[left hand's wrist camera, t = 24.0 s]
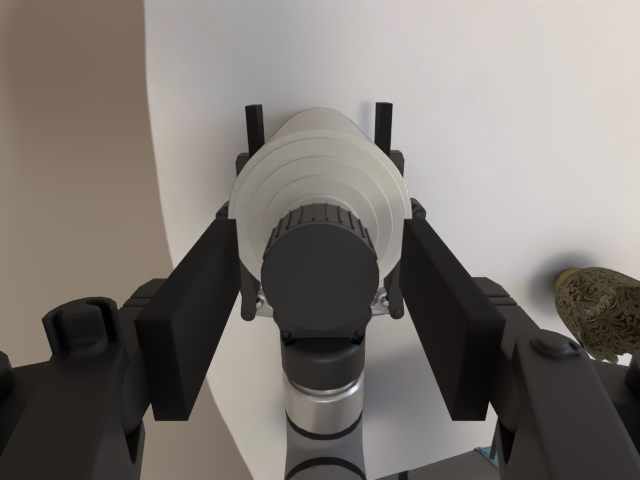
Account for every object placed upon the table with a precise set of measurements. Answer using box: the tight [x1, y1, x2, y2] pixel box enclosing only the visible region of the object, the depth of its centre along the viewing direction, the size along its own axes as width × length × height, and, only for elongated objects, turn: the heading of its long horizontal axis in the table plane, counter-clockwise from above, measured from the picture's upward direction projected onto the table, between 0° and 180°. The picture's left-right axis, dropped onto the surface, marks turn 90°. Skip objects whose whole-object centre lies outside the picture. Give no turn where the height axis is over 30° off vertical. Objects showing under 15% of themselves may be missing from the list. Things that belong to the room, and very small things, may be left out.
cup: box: [554, 267, 640, 364], centre depth 35 cm, size 8×7×8 cm
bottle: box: [228, 108, 412, 282], centre depth 24 cm, size 8×8×23 cm
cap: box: [261, 203, 379, 330], centre depth 13 cm, size 4×4×2 cm
